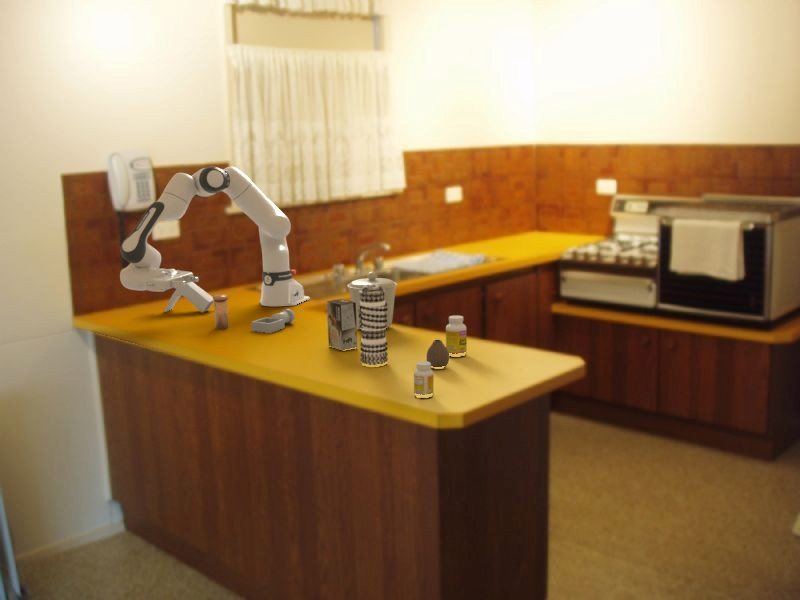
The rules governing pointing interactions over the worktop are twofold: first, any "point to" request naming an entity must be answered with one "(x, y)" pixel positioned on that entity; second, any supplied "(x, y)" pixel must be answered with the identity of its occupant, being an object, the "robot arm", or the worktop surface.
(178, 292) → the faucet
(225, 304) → the copper pipe stub
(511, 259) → the worktop surface
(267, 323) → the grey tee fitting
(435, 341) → the vase
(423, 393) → the supplement bottle
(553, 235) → the worktop surface
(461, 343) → the supplement bottle
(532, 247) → the worktop surface
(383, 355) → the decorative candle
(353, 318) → the coffee box
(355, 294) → the canister
